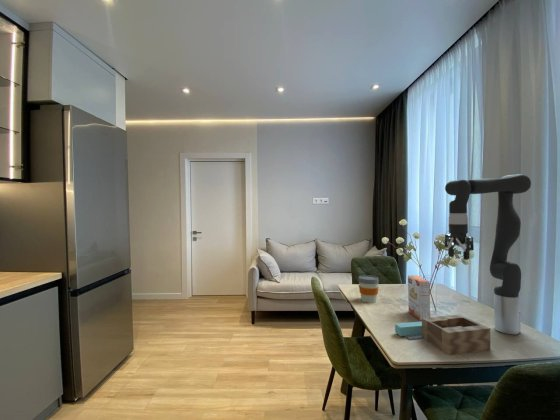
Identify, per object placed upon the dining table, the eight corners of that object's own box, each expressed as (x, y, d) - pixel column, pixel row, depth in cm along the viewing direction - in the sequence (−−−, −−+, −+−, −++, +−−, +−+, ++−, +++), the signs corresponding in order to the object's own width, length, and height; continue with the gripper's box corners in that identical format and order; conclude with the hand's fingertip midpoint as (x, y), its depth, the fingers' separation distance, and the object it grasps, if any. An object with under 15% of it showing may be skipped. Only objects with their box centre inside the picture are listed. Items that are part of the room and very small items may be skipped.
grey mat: (415, 328, 141) (415, 327, 141) (429, 337, 131) (429, 336, 131) (396, 330, 139) (396, 329, 139) (409, 340, 129) (409, 338, 129)
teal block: (421, 329, 138) (421, 321, 138) (428, 333, 134) (428, 325, 134) (395, 332, 136) (395, 323, 136) (400, 336, 132) (400, 327, 132)
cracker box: (407, 311, 165) (407, 275, 165) (418, 311, 165) (417, 274, 165) (419, 320, 151) (418, 281, 151) (430, 320, 151) (430, 281, 151)
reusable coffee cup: (380, 304, 178) (380, 280, 178) (359, 303, 180) (359, 279, 180) (377, 297, 190) (376, 275, 190) (357, 297, 192) (357, 274, 192)
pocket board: (459, 333, 135) (459, 314, 135) (490, 349, 119) (490, 328, 119) (421, 337, 131) (421, 318, 131) (448, 355, 116) (448, 332, 116)
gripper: (478, 223, 126) (478, 260, 126) (453, 222, 140) (453, 255, 140) (463, 224, 125) (464, 261, 125) (439, 222, 139) (440, 256, 139)
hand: (458, 258), depth 133 cm, fingers open, 8 cm apart
